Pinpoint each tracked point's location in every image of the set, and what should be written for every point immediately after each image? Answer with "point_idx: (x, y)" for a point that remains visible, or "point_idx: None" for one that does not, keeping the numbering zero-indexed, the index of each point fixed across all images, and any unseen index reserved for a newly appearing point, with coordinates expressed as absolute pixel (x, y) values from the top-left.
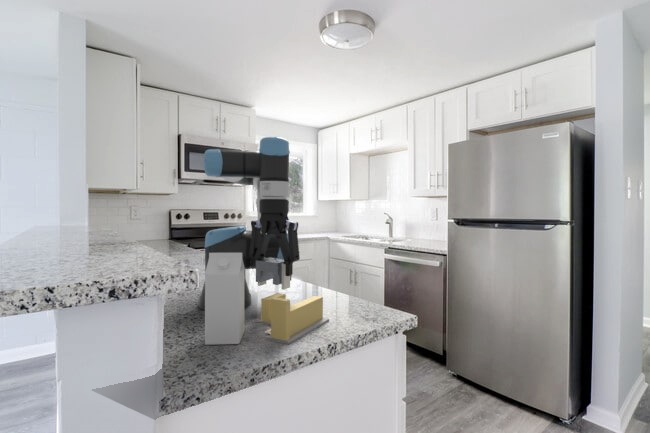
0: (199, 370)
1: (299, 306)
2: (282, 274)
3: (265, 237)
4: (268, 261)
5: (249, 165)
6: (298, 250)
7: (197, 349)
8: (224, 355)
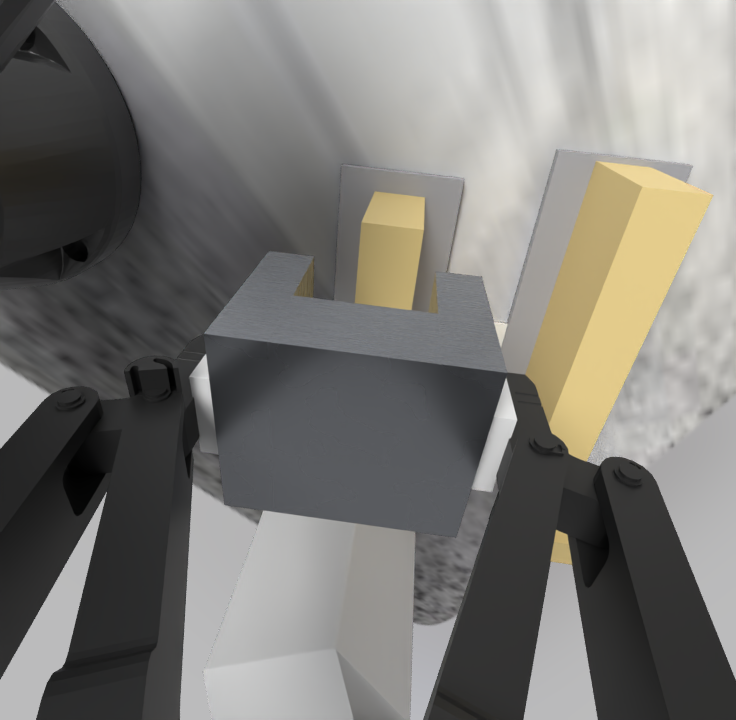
0: (419, 584)
1: (597, 419)
2: None
3: (178, 713)
4: (347, 511)
5: None
6: (681, 561)
7: None
8: (422, 533)
